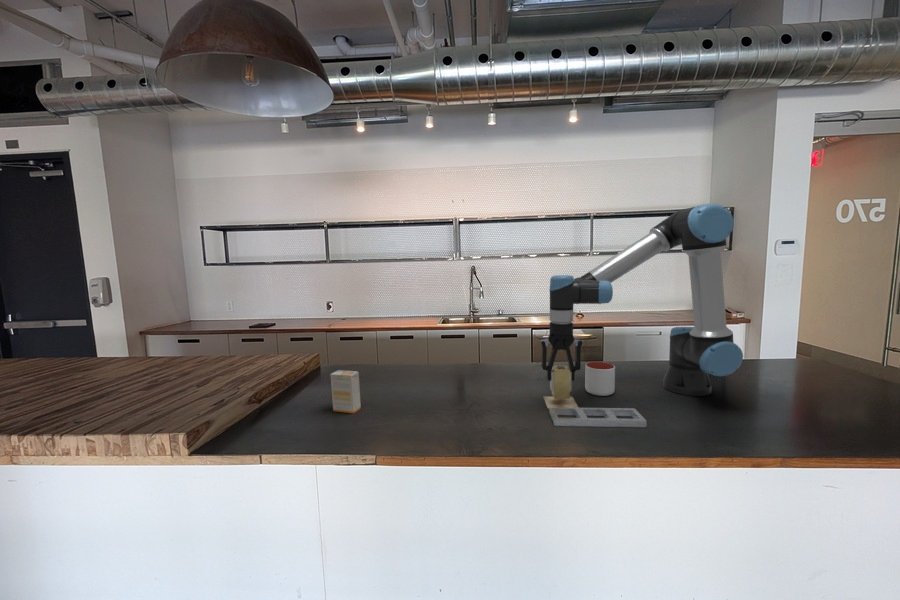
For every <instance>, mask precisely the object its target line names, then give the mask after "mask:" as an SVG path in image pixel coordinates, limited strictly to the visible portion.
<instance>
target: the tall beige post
mask: <svg viewBox="0 0 900 600" xmlns="http://www.w3.org/2000/svg"><path fill="white" fill-rule="evenodd" d="M552 370H553V372H554V391H551V395H552V397H554V399H570V397H571V394H570V393H571V391H570V368H569V365H562V364H561V365H560V364H559V365H556V364H555V365H554V364H553V367H552Z"/></svg>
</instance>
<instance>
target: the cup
mask: <svg viewBox="0 0 900 600" xmlns="http://www.w3.org/2000/svg"><path fill="white" fill-rule="evenodd" d="M584 366H585V367H584V371H585V372H584V374H585V375H584V378H585V379H584V387H585V388H584V389H585V391H586V392H587V393H588V394H590V395H594V396H598V397H608V396H610V395H611V396H612V395H613V394H614V393H615V387H616V385H615V384H616V383H615V382H616V366H615V365H614V364H612V363H608V362H605V361H590V362H587V363H585V365H584Z"/></svg>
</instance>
